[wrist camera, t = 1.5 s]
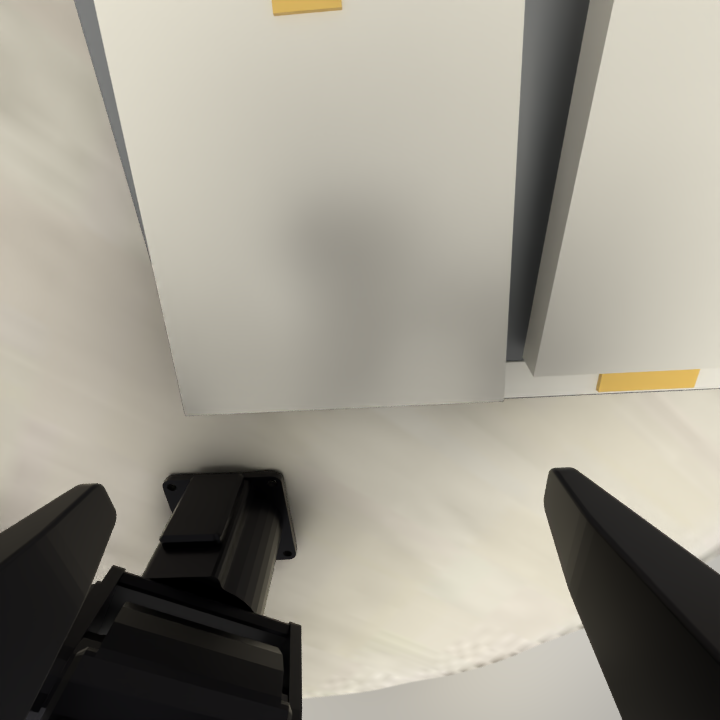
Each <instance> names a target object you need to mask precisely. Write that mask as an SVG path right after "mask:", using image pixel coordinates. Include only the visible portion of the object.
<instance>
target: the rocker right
mask: <svg viewBox="0 0 720 720" xmlns="http://www.w3.org/2000/svg"><path fill="white" fill-rule="evenodd" d="M523 359H524V361H525V363H526V365H527V366H528V368H529V370H530V372H531V374H532V375H533V377H545V376H566V375H586V374H607V373H627V372H648V371H669V370H689V369H710V368H720V0H590V3H589V8H588V13H587V19H586V24H585V29H584V34H583V40H582V45H581V50H580V56H579V61H578V66H577V71H576V77H575V82H574V87H573V93H572V98H571V103H570V109H569V114H568V119H567V124H566V130H565V135H564V140H563V146H562V151H561V156H560V161H559V167H558V172H557V177H556V183H555V188H554V193H553V198H552V204H551V209H550V214H549V220H548V225H547V230H546V235H545V241H544V246H543V251H542V257H541V262H540V267H539V273H538V278H537V283H536V288H535V294H534V299H533V304H532V310H531V315H530V320H529V325H528V331H527V336H526V341H525V347H524V352H523Z"/></svg>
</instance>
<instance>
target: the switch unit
mask: <svg viewBox="0 0 720 720" xmlns="http://www.w3.org/2000/svg"><path fill="white" fill-rule="evenodd" d="M74 2H75V5H76V9H77V12H78V16H79V19H80V22H81V26H82V29H83V33H84V36H85V39H86V43H87V46H88V50H89V53H90V56H91V60H92V63H93V67H94V70H95V74H96V77H97V80H98V84H99V87H100V91H101V94H102V97H103V101H104V104H105V108H106V111H107V114H108V118H109V121H110V125H111V128H112V131H113V135H114V138H115V142H116V145H117V148H118V152H119V155H120V159H121V162H122V165H123V169H124V172H125V176H126V179H127V182H128V186H129V189H130V193H131V196H132V199H133V203H134V206H135V210H136V213H137V217H138V220H139V223H140V227H141V230H142V234H143V237H144V240H145V244H146V247H147V251H148V254H149V249H148V245H147V240H146V236H145V231H144V227H143V222H142V218H141V213H140V209H139V204H138V200H137V195H136V190H135V186H134V181H133V177H132V172H131V168H130V163H129V159H128V154H127V150H126V145H125V140H124V136H123V131H122V127H121V122H120V118H119V113H118V109H117V104H116V100H115V95H114V91H113V86H112V81H111V77H110V72H109V68H108V63H107V59H106V54H105V50H104V45H103V41H102V36H101V32H100V27H99V22H98V18H97V13H96V9H95V4H94V0H74ZM589 3H590V0H525V12H524V31H523V50H522V68H521V87H520V106H519V125H518V143H517V162H516V181H515V200H514V218H513V237H512V256H511V275H510V293H509V312H508V331H507V350H506V368H505V387H504V399H510V398H532V397H553V396H575V395H596V394H618V393H639V392H661V391H682V390H704V389H720V368H710V369H689V370H669V371H648V372H627V373H607V374H586V375H566V376H545V377H533V375H532V374H531V372H530V370H529V368H528V366H527V365H526V363H525V361H524V359H523V352H524V347H525V341H526V336H527V331H528V325H529V320H530V315H531V310H532V304H533V299H534V294H535V288H536V283H537V278H538V273H539V267H540V262H541V257H542V251H543V246H544V241H545V235H546V230H547V225H548V220H549V214H550V209H551V204H552V198H553V193H554V188H555V183H556V177H557V172H558V167H559V161H560V156H561V151H562V146H563V140H564V135H565V130H566V124H567V119H568V114H569V109H570V103H571V98H572V93H573V87H574V82H575V77H576V71H577V66H578V61H579V56H580V50H581V45H582V40H583V34H584V29H585V24H586V19H587V13H588V8H589ZM149 257H150V254H149ZM150 261H151V259H150ZM151 264H152V263H151Z"/></svg>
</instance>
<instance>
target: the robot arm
mask: <svg viewBox="0 0 720 720" xmlns="http://www.w3.org/2000/svg"><path fill="white" fill-rule="evenodd" d="M271 480H275V481H276V482H272V481H271ZM172 484H174V485H175V486H174V485H172ZM163 490H164V492H165V495H166V498H167V501H168V503H169V506H170V509H171V511H172V515H171V517H170V519H169V521H168V523H167V525H166V527H165V529H164V530H163V532H162V534H161V536H160V539H159V540H160V543H159V544H158V546H157V548H156V550H155V552H154V554H153V556H152V558H151V560H150V561H149V563H148V565H147V567H146V569H145V571H144V573H143V575H142V577H141V576H138V575H135V574H132V573H128V572H125V570H126V569H124V568H121V567H118V566H115V565H113V566H112V567H111V569H110V570H109V572H108V573H107V575H106V576H105V577H104V579H103V580H102V582H101V581H97V582H96V583H95V584H92V582H93V579H94V577H95V574H96V571H97V569H98V566H99V564H100V561H101V559H102V556H103V553H104V551H105V548H106V546H107V543H108V541H109V538H110V536H111V533H112V530H113V528H114V525H115V522H116V510H115V508H114V506H113V504H112V502H111V500H110V498H109V496H108V494H107V492H106V490H105V488H104V486H102V485H101V484H98V483H93V484H80V485H77V486H75V487H74V488H72V489H70V490H69V491H67V492H66V493H64V494H62V495H61V496H59V497H58V498H56V499H54V500H53V501H51V502H50V503H48V504H46V505H45V506H43V507H42V508H40V509H38V510H37V511H35V512H34V513H32V514H30V515H29V516H27V517H26V518H24V519H22V520H21V521H19V522H18V523H16V524H14V525H13V526H11V527H10V528H8V529H6V530H5V531H3V532H2V533H0V720H302V658H301V625H299V624H296V623H292V622H289V623H285V622H282V621H279V620H276V619H272V618H269V617H266V616H263V615H264V610H265V606H266V601H267V597H268V592H269V588H270V583H271V579H272V574H273V570H274V565H275V561H276V560H285V559H292V558H294V557H295V556H296V551H297V546H296V541H295V536H294V530H293V525H292V520H291V515H290V510H289V505H288V500H287V495H286V489H285V484H284V479H283V476H282V475H281V474H280V473H278V472H275V471H266V472H240V473H215V474H190V475H171V476H168V477H167V478H166V480H165V481H164V483H163ZM544 508H545V513H546V516H547V519H548V523H549V526H550V529H551V533H552V536H553V540H554V543H555V546H556V550H557V553H558V556H559V560H560V563H561V566H562V570H563V573H564V577H565V580H566V583H567V586H568V589H569V592H570V594H571V597H572V599H573V602H574V604H575V607H576V609H577V612H578V614H579V616H580V619H581V621H582V624H583V626H584V628H585V631H586V633H587V636H588V638H589V640H590V643H591V645H592V648H593V650H594V653H595V655H596V657H597V660H598V662H599V664H600V667H601V669H602V672H603V674H604V677H605V679H606V681H607V684H608V686H609V689H610V691H611V693H612V696H613V698H614V701H615V703H616V705H617V708H618V710H619V713H620V715H621V717H622V720H720V574H719V573H717V572H716V571H714V570H713V569H712V568H710V567H709V566H708V565H706V564H705V563H704V562H702V561H701V560H699V559H698V558H697V557H695V556H694V555H693V554H691V553H690V552H689V551H687V550H686V549H684V548H683V547H682V546H680V545H679V544H678V543H676V542H675V541H673V540H672V539H671V538H669V537H668V536H667V535H665V534H664V533H662V532H661V531H660V530H658V529H657V528H656V527H654V526H653V525H652V524H650V523H649V522H647V521H646V520H645V519H643V518H642V517H641V516H639V515H638V514H636V513H635V512H634V511H632V510H631V509H630V508H628V507H627V506H626V505H624V504H623V503H621V502H620V501H619V500H617V499H616V498H615V497H613V496H612V495H610V494H609V493H608V492H606V491H605V490H604V489H602V488H601V487H599V486H598V485H597V484H595V483H594V482H593V481H591V480H590V479H589V478H587V477H586V476H584V475H583V474H582V473H580V472H579V471H578V470H576V469H574V468H570V467H566V468H553V469H551V470H550V471H549V474H548V479H547V484H546V489H545V495H544ZM91 584H92V585H91Z"/></svg>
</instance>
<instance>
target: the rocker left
mask: <svg viewBox="0 0 720 720" xmlns="http://www.w3.org/2000/svg"><path fill="white" fill-rule="evenodd" d="M94 4H95V9H96V13H97V18H98V22H99V27H100V32H101V36H102V41H103V45H104V50H105V54H106V59H107V63H108V68H109V72H110V77H111V81H112V86H113V91H114V95H115V100H116V104H117V109H118V113H119V118H120V122H121V127H122V131H123V136H124V140H125V145H126V150H127V154H128V159H129V163H130V168H131V172H132V177H133V181H134V186H135V190H136V195H137V200H138V204H139V209H140V213H141V218H142V222H143V227H144V231H145V236H146V240H147V245H148V249H149V254H150V259H151V263H152V268H153V272H154V277H155V281H156V286H157V290H158V295H159V299H160V304H161V308H162V313H163V318H164V322H165V327H166V331H167V336H168V340H169V345H170V349H171V354H172V358H173V363H174V367H175V372H176V377H177V381H178V386H179V390H180V395H181V399H182V404H183V408H184V413H185V416H197V415H219V414H241V413H262V412H284V411H306V410H327V409H349V408H371V407H392V406H414V405H436V404H457V403H479V402H501V401H504V387H505V368H506V350H507V331H508V312H509V293H510V275H511V256H512V237H513V218H514V200H515V181H516V162H517V143H518V125H519V106H520V87H521V68H522V50H523V31H524V12H525V0H94Z"/></svg>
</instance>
